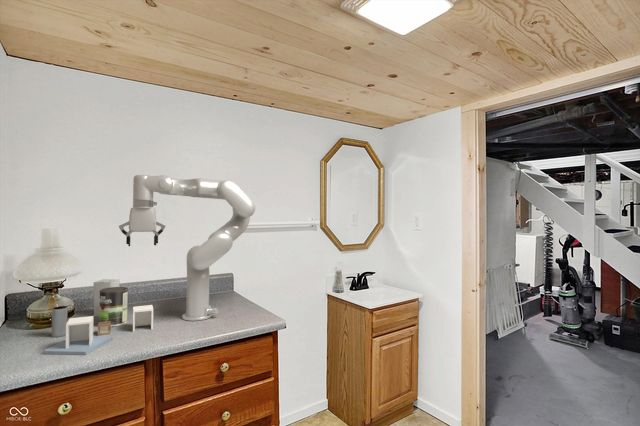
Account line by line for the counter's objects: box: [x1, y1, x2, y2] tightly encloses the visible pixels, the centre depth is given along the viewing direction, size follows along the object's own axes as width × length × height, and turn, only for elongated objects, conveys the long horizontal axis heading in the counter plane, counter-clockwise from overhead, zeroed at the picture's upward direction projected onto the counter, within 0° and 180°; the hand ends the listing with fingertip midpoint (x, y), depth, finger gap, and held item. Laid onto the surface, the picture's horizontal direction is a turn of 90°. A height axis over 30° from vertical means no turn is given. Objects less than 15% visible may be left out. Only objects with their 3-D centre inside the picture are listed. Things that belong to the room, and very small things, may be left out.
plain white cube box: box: [132, 304, 154, 333], centre depth 138 cm, size 7×7×8 cm
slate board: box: [42, 335, 114, 356], centre depth 118 cm, size 14×14×1 cm
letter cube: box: [97, 321, 112, 336], centre depth 131 cm, size 4×4×4 cm
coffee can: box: [98, 286, 129, 328], centre depth 143 cm, size 10×10×14 cm
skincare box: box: [93, 278, 121, 318], centre depth 154 cm, size 8×7×16 cm
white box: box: [65, 315, 95, 349], centre depth 118 cm, size 7×7×8 cm
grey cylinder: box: [51, 305, 68, 338], centre depth 128 cm, size 4×4×10 cm
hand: (142, 245), depth 144 cm, fingers open, 9 cm apart
